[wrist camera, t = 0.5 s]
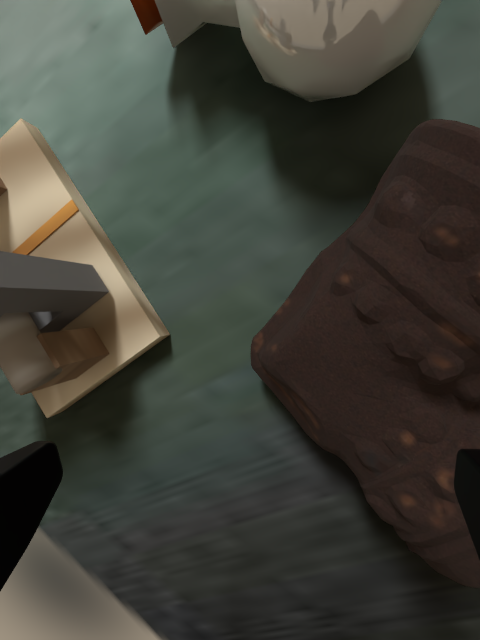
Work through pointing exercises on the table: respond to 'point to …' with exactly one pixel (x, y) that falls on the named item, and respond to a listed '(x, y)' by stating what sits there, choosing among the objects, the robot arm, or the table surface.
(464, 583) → the brown curved lump
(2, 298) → the collar
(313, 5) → the potion bottle
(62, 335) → the pipe rig
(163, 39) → the table surface
